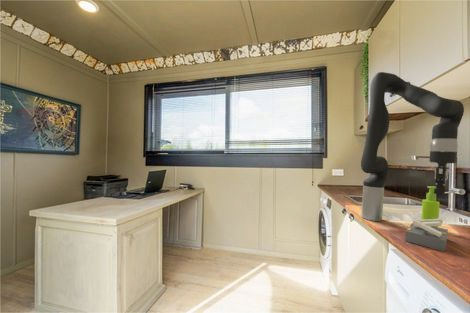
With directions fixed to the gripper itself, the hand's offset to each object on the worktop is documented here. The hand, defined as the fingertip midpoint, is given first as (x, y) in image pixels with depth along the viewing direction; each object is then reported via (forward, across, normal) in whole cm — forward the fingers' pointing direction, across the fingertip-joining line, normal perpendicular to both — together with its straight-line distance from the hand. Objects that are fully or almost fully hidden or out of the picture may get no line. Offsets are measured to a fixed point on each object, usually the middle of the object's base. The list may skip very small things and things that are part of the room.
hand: (440, 193), depth 81 cm
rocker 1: (+14, -6, -3) cm, 15 cm away
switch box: (+19, 0, -3) cm, 20 cm away
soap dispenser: (+20, -21, -4) cm, 29 cm away
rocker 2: (+14, 0, -3) cm, 14 cm away
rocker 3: (+14, +6, -3) cm, 15 cm away
